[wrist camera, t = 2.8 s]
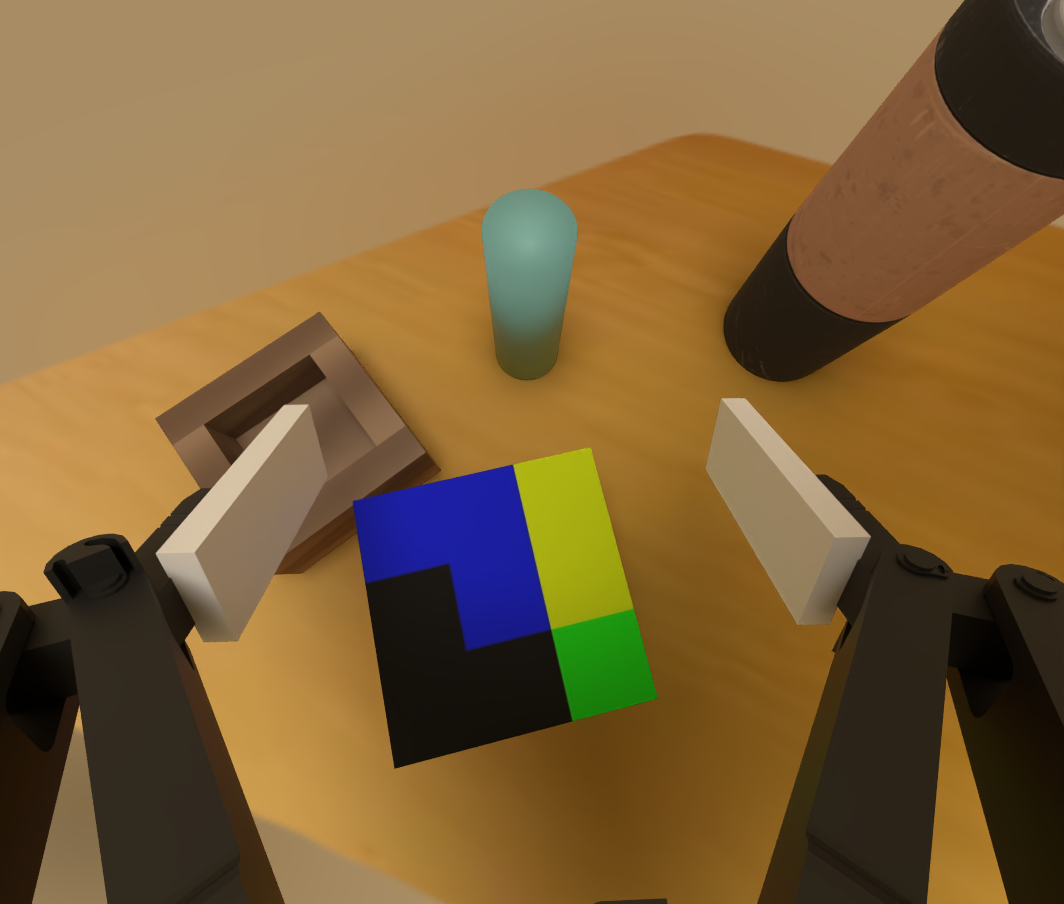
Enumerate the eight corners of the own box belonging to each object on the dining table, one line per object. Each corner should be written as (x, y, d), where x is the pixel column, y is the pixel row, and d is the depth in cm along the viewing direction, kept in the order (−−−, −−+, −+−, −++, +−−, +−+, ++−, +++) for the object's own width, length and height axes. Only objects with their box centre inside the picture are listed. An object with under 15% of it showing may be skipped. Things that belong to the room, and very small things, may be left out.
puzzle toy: (407, 521, 30) (352, 500, 20) (568, 484, 31) (590, 447, 21) (439, 696, 28) (394, 768, 18) (610, 652, 28) (657, 698, 19)
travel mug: (757, 259, 34) (1071, -145, 15) (854, 323, 33) (1325, -19, 14) (696, 340, 33) (954, 11, 13) (795, 409, 32) (1228, 163, 12)
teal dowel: (569, 356, 32) (597, 238, 21) (521, 391, 32) (521, 291, 20) (532, 311, 33) (537, 172, 21) (483, 345, 32) (462, 221, 21)
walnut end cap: (440, 470, 30) (425, 452, 26) (301, 573, 29) (256, 575, 24) (350, 349, 32) (319, 311, 27) (213, 441, 31) (155, 418, 26)
